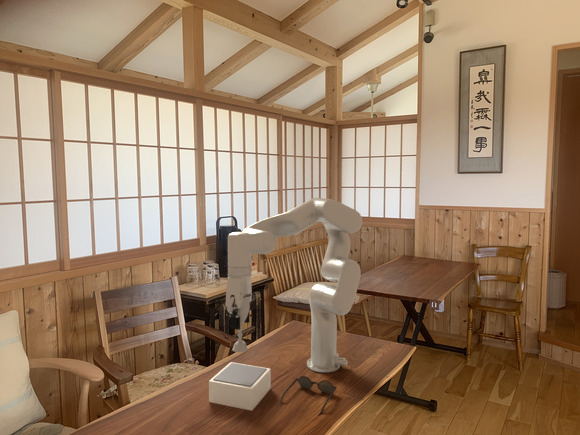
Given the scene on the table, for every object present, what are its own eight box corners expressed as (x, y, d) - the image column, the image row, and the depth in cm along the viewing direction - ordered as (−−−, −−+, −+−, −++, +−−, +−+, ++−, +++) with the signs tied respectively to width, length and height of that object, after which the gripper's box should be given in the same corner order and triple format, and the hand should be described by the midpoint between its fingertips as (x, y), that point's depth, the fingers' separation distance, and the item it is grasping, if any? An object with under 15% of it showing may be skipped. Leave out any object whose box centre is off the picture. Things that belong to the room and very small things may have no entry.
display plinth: (270, 388, 151) (270, 367, 150) (251, 410, 137) (251, 388, 136) (230, 381, 156) (230, 361, 155) (209, 402, 142) (208, 380, 141)
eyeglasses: (336, 395, 147) (336, 381, 147) (321, 418, 134) (321, 402, 133) (296, 386, 153) (296, 372, 153) (277, 407, 140) (277, 392, 139)
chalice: (233, 355, 140) (232, 299, 138) (225, 347, 146) (225, 293, 144) (254, 350, 143) (254, 296, 142) (246, 343, 149) (246, 291, 148)
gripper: (241, 264, 151) (241, 316, 153) (216, 275, 135) (216, 333, 137) (261, 266, 149) (261, 318, 151) (238, 277, 133) (238, 336, 135)
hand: (240, 325), depth 144 cm, fingers closed on chalice, 6 cm apart
